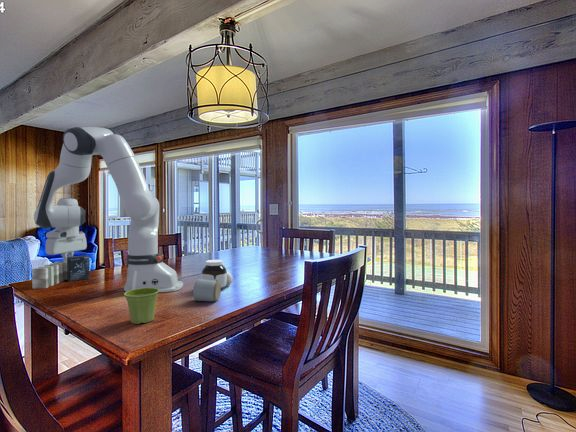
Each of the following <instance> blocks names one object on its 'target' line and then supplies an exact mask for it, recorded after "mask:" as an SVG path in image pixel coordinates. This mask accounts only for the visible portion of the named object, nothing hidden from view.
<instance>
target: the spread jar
mask: <svg viewBox="0 0 576 432" xmlns="http://www.w3.org/2000/svg"><path fill="white" fill-rule="evenodd" d="M200 279H204V280H212V281H217V282H219V283H220V285H221V291H223V289H225V288H226V287H229V286H230V285H232V283H233V282H234V277H233V275H232V273H231V272H229V271H228V270H227V268H226V267H225V266H224V260H221V259H209V260H206V261H205V265H204V268H202V271H201V277H200Z"/></svg>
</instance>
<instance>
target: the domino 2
mask: <svg viewBox="0 0 576 432" xmlns="http://www.w3.org/2000/svg"><path fill="white" fill-rule="evenodd" d="M37 268H48V287H52V286H54V285H55V284H54V266H44V265H43V266H41V265H40V266H38V267H37Z"/></svg>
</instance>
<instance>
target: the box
mask: <svg viewBox="0 0 576 432" xmlns="http://www.w3.org/2000/svg"><path fill="white" fill-rule="evenodd" d="M90 269H91V268H90V256H89V255H87V254H85V255H73V256H71V257H68V256H67V281H68V282H75V281H82V280H84V281H85V280H90V275H91V274H90Z"/></svg>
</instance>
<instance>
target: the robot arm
mask: <svg viewBox="0 0 576 432" xmlns="http://www.w3.org/2000/svg"><path fill="white" fill-rule="evenodd" d="M93 156H101V157H102V159H103V161H104V163H105V165H106V168H107V170H108V172H109V173H110V175H111V178H112V179H113V182H114V183H115V186H116V189H117V192H118V196H119V198H120V201H121V204H122V207H123V210H124V212H125V214H126V215H127V216H128V217H129V218H130V224H129V229H128V234H127V251H128V252H127V255H126V269H127V272H126V274H127V275H126V280H125V283H124V288H123V291H124V292H127V291H130V290H133V289H139V288H157V289H159V292H158V293H169V292H176V291H178V290H180V289H182V288H183V287H184V283H183V281H182V280H178V274H177V271H176V270H175V269H174V268H172V267H170V266H169V265H167V264H166V263H165V262H164V254H161V253H159V244H158V243H159V241H158V240H159V237H158V236H159V224H160V202H159V200H158V199H157V197H155V196H154V195H152V193H151V191H150V187H149V185H148V183H147V181H146V177H145V174H144V172H143V170H142V168H141V165H140V164H139V161H138V160H137V159H138V158H136V155H135V154H134V151H133V149H132V148H131V147H130V145H129V143H128V142H127V140H126V139H125V137H123V136H122V135H121V134H120V133H119V132H118V131H117V130H115V129H113V128H109V127H98V126H81V127H80V126H74V127H71V128H68V129H66V130H65V131H64V132H63V134H62V147H61V150H60V156H59V163H58V165H57V167H56V168H55V169H54V170H51V171H50V172H49V173H48V174H47V177H46V178H45V179H46V180H45V183H44V185H43V189H42V192H41V195H40V198H39V202H38V204H37V207H36V208H35V210H34V213H33V220H34V224H35V225H37V226H38V227H40V228H42V229H51V228H54V229H52V230H50V231H48V232H46V234H45V236H46V238H47V239H46V240H45V253H46V255H50V256H55V255H59V254H60V255H61V257H62V260H63V261H62V262H67V257H71V256H74V254H75V252H78V251H84V250H86V249H87V247H88V245H87V244H88V243H87V237H86V234H85V232H83V231H82V230H81V231H80V226H83V224H84V223H86V213H87V212H86V211H87V210H86V209H84V208H83V207H82V206H79V203H78V200H77V199H75V198H71V197H63V198H59V199H58V200H57V204H56V205H53V201H54V198H55V196H56V195H55V194H56V192H57V191H58V190H59V189H62V188H63V187H64V188H65V187H67V186H71V185H74V184H75V185H76V184H79V183H81V182H84V181H85V180H86V179H87V178H89V176H90V174H91V168H92V160H93V159H92V158H93Z"/></svg>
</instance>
